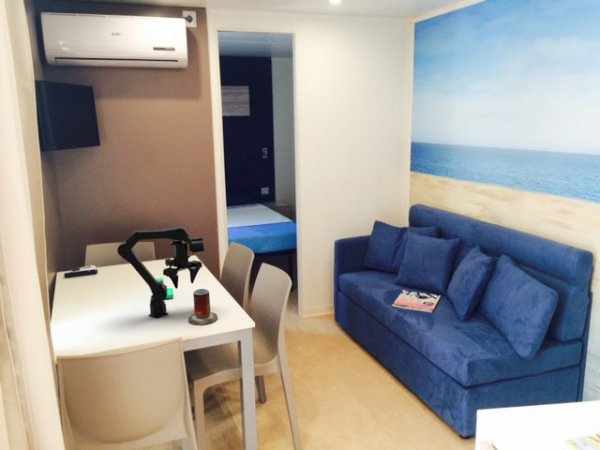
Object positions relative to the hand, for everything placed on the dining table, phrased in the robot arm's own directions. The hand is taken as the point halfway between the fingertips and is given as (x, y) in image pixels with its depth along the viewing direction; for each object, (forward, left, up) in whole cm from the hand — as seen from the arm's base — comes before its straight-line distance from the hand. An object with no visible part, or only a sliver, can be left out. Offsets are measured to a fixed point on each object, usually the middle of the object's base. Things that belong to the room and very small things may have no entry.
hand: (184, 285), depth 235 cm
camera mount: (+9, +28, -13) cm, 32 cm away
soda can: (-2, -14, -12) cm, 18 cm away
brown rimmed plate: (-2, -14, -13) cm, 19 cm away
